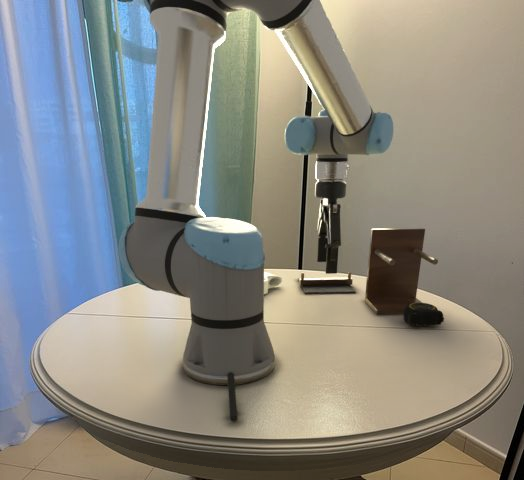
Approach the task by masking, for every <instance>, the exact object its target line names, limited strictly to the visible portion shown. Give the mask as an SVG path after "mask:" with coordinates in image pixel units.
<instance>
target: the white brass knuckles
mask: <svg viewBox="0 0 524 480" xmlns="http://www.w3.org/2000/svg"><path fill="white" fill-rule="evenodd" d="M282 282H283V278H282V277H281V276H279V275H277V274H272V273H269V272H266V271H264V295H267V294H268V293H269V289H274V288H276V287H277V286H280V285H281V284H282Z"/></svg>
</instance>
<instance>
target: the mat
mask: <svg viewBox="0 0 524 480" xmlns="http://www.w3.org/2000/svg"><path fill="white" fill-rule="evenodd" d="M300 278H301V277H300ZM300 278H297V280H298V281H299V280H300ZM300 287H301V288H302V291H303V293H304V294H305V295H313V294H314V295H317V294H321V295H322V294H356V293H357V291H356V290H355V288H354V287H353V286H352V285H315V286H300Z"/></svg>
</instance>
